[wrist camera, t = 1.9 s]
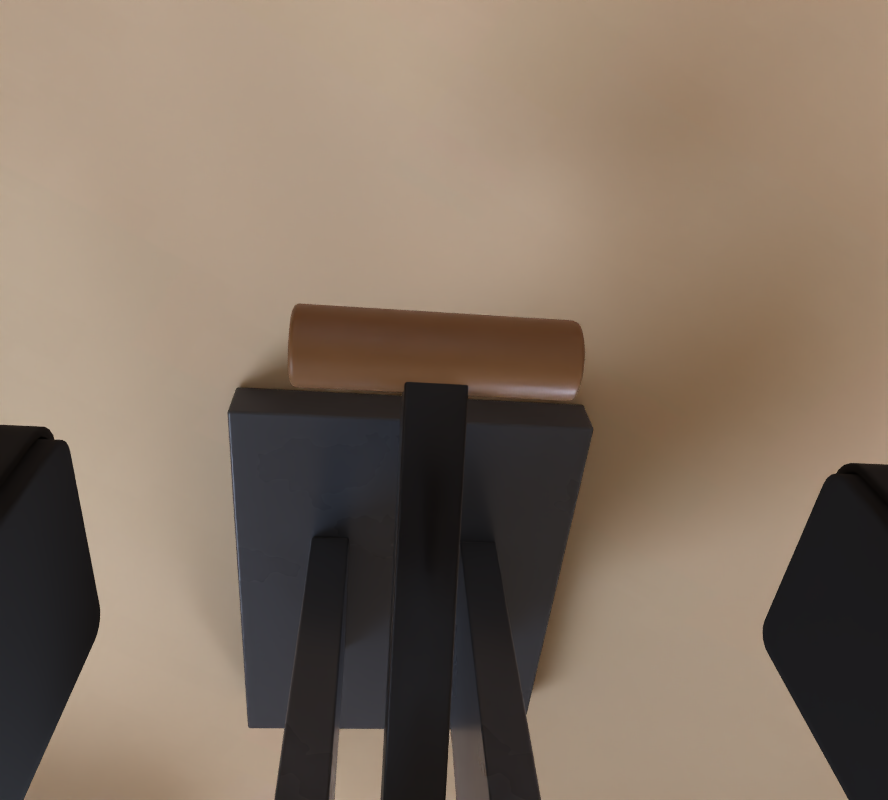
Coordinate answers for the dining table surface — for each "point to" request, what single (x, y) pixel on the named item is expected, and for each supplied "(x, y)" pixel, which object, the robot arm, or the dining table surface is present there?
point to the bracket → (370, 574)
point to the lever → (429, 481)
